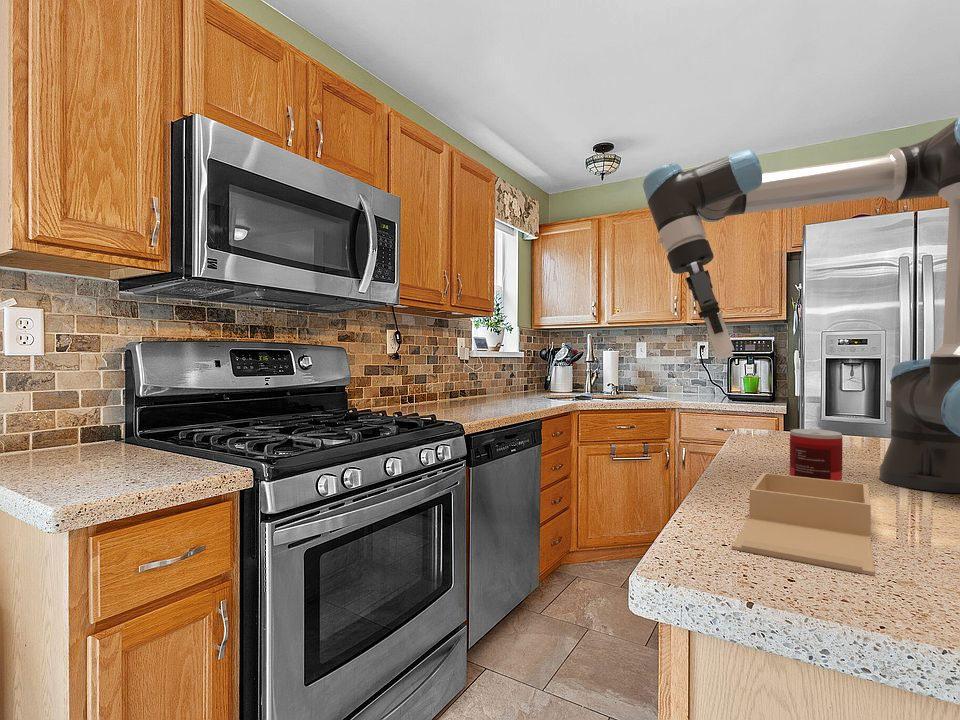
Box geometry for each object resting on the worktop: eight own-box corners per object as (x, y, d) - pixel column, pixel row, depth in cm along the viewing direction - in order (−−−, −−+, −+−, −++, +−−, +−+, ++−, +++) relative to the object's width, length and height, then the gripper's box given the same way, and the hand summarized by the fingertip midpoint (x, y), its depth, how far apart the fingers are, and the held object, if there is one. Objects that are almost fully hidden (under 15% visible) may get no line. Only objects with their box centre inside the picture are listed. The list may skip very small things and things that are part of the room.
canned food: (826, 490, 96) (826, 429, 96) (852, 502, 88) (853, 435, 88) (781, 489, 97) (781, 428, 97) (803, 501, 89) (803, 434, 89)
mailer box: (762, 499, 90) (762, 472, 90) (867, 513, 82) (867, 484, 82) (731, 549, 66) (731, 512, 66) (874, 576, 58) (874, 534, 58)
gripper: (672, 269, 112) (706, 366, 108) (658, 235, 90) (701, 356, 86) (709, 255, 110) (745, 354, 106) (704, 217, 87) (751, 341, 83)
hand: (725, 355), depth 96 cm, fingers open, 13 cm apart
